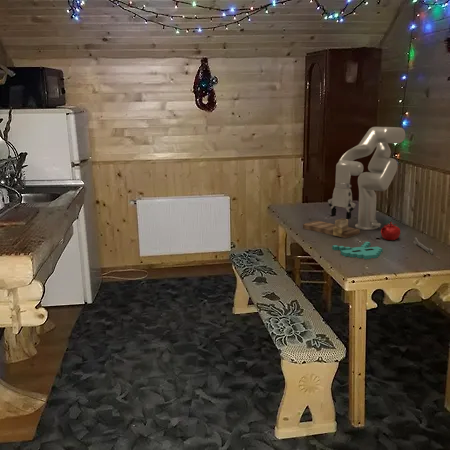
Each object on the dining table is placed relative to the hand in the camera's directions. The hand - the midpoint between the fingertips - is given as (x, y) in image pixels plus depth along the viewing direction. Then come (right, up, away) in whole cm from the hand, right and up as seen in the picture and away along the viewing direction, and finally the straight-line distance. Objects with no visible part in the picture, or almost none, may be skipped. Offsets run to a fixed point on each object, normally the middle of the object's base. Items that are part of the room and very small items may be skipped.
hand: (340, 217), depth 281 cm
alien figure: (+3, -18, -27) cm, 33 cm away
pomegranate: (+25, -11, -5) cm, 28 cm away
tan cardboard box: (0, -10, +3) cm, 10 cm away
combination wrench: (+35, -16, -24) cm, 45 cm away
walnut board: (-3, -7, +13) cm, 15 cm away
